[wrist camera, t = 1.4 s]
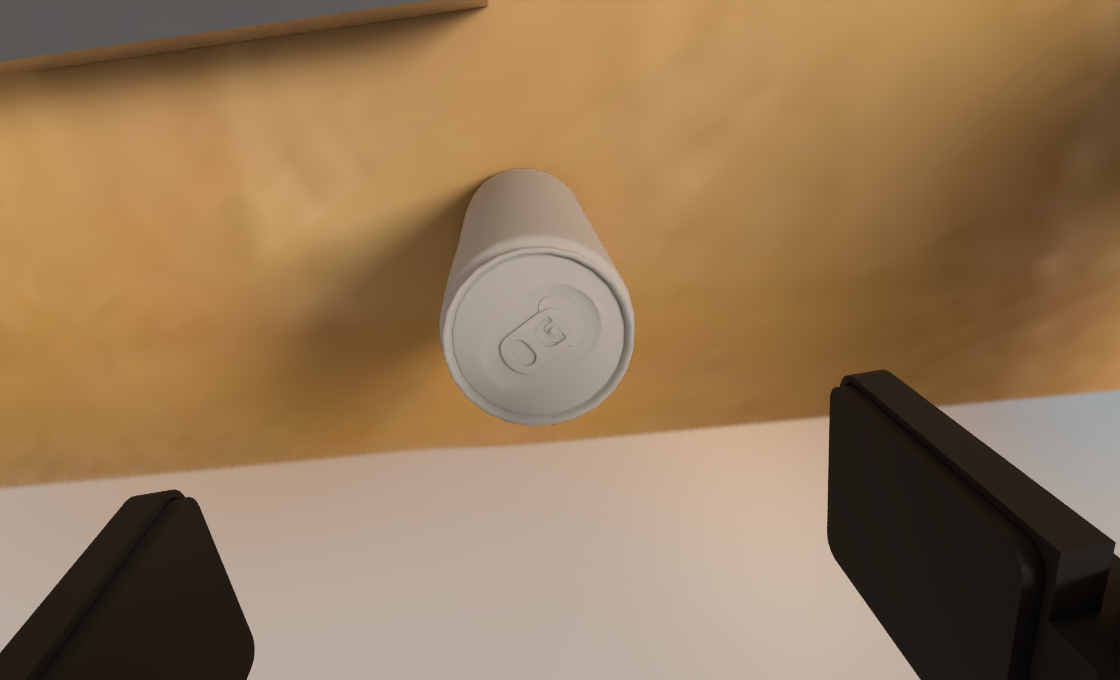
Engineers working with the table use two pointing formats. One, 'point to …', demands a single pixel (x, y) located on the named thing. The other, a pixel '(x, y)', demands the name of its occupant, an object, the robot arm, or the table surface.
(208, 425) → the table surface
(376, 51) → the table surface
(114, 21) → the socket block
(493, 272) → the beverage can
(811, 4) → the table surface
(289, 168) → the table surface
